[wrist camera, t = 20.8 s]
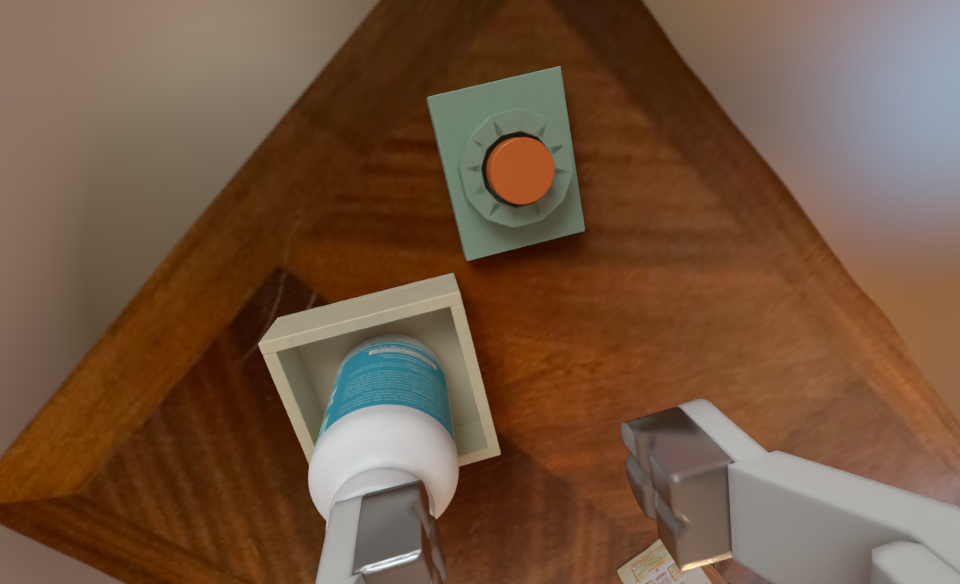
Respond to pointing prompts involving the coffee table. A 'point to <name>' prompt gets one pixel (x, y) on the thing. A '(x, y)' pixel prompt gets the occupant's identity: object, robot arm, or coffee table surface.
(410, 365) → the pill bottle
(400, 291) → the cream square open box
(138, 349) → the coffee table surface
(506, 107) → the panel
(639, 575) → the coffeecake box
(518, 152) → the button
